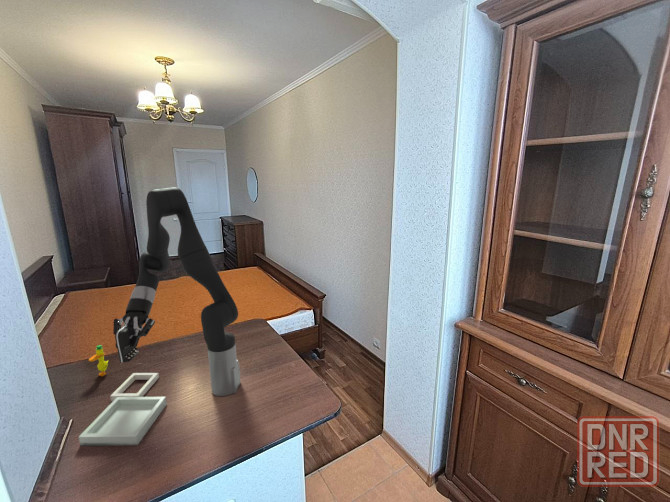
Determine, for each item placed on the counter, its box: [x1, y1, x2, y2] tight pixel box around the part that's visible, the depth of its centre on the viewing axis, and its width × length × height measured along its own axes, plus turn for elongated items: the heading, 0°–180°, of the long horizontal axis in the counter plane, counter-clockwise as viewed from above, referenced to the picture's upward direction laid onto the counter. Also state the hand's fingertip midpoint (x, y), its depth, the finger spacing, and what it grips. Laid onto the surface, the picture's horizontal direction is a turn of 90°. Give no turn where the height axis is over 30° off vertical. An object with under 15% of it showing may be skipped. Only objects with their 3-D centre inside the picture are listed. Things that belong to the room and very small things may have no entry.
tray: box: [78, 396, 168, 447], centre depth 93 cm, size 16×16×3 cm
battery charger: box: [114, 325, 140, 364], centre depth 104 cm, size 7×4×11 cm, turn 2°
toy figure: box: [88, 344, 109, 377], centre depth 115 cm, size 7×4×12 cm, turn 166°
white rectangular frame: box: [109, 372, 160, 402], centre depth 109 cm, size 9×12×2 cm
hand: (125, 348), depth 103 cm, fingers closed on battery charger, 4 cm apart
